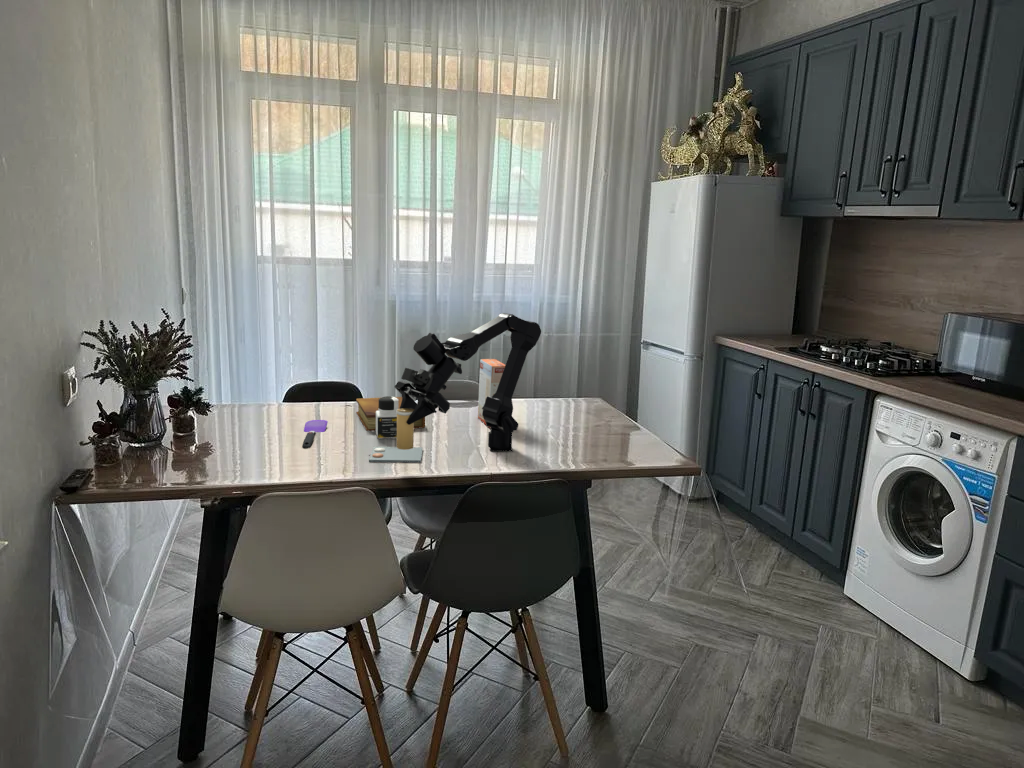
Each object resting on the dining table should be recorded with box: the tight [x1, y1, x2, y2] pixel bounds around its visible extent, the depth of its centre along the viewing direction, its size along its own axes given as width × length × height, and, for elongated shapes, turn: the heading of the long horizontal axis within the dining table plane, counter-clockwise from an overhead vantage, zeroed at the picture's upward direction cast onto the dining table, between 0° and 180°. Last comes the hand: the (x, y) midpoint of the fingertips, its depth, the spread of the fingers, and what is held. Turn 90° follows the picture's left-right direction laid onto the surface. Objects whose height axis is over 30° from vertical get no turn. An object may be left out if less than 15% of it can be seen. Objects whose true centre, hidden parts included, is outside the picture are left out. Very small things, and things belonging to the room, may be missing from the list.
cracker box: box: [477, 358, 506, 429], centre depth 234 cm, size 14×6×21 cm, turn 18°
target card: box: [368, 446, 423, 464], centre depth 197 cm, size 14×12×1 cm
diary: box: [355, 396, 426, 432], centre depth 233 cm, size 23×19×6 cm
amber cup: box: [396, 408, 415, 450], centre depth 183 cm, size 5×5×10 cm
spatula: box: [302, 419, 329, 449], centre depth 211 cm, size 24×7×2 cm, turn 7°
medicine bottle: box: [375, 396, 399, 440], centre depth 215 cm, size 7×7×12 cm
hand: (402, 421), depth 182 cm, fingers closed on amber cup, 4 cm apart
